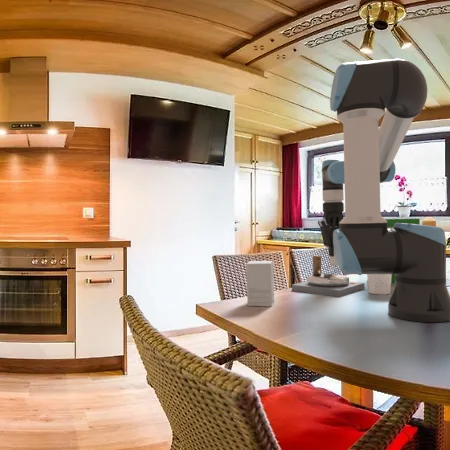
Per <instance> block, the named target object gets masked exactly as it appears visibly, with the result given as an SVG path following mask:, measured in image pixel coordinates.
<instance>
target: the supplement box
mask: <svg viewBox="0 0 450 450" xmlns="http://www.w3.org/2000/svg"><path fill="white" fill-rule="evenodd" d="M245 270H246V295H247V296H246V297H247V299H246V300H247V306H248V307H272V306H273V304H275V303H274V302H275V284H274V283H275V279H274V276H275V275H274V260H249V261H248V262H247V263H246V264H245Z"/></svg>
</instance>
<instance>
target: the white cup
mask: <svg viewBox="0 0 450 450" xmlns="http://www.w3.org/2000/svg"><path fill="white" fill-rule="evenodd" d="M366 276H367V277H366V278H367V279H366V280H367V286H368V293H369V294H373V295H389V294H390V295H391V294H392V291H391V288H392V286H391V285H392V283H391V277H392V274H366Z"/></svg>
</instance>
